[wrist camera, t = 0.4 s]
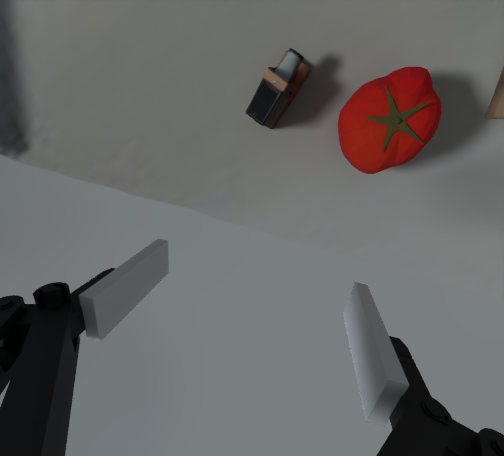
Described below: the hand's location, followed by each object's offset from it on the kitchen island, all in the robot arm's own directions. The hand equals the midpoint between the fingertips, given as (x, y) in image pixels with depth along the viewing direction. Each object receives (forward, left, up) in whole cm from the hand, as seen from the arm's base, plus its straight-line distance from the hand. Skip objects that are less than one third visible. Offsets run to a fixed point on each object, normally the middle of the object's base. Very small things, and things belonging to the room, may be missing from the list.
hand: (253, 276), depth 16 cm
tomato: (-11, +12, -27) cm, 32 cm away
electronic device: (-15, -2, -27) cm, 31 cm away
